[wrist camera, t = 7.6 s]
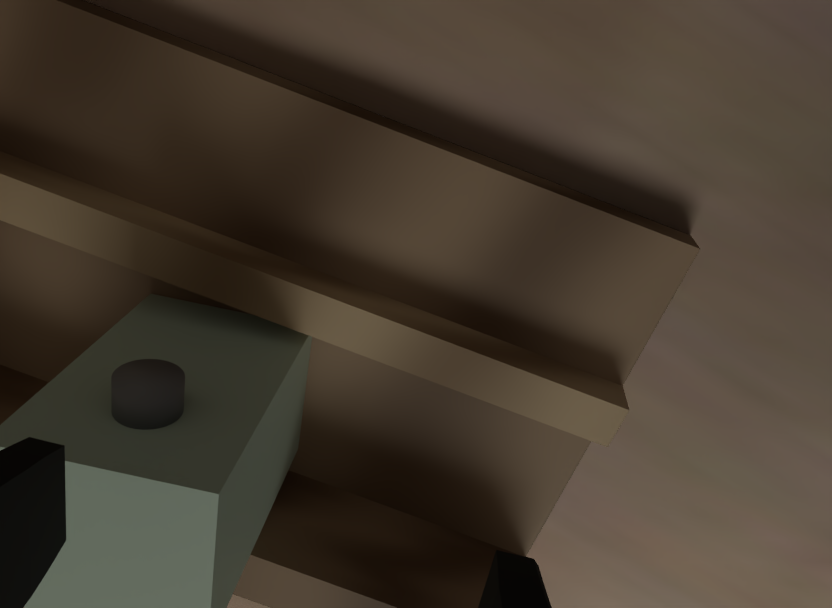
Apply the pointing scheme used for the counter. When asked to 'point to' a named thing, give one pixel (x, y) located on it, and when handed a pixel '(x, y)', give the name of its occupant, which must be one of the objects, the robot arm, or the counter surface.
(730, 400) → the counter surface
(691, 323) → the counter surface
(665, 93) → the counter surface
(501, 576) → the robot arm
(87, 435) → the cabinet block
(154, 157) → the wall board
